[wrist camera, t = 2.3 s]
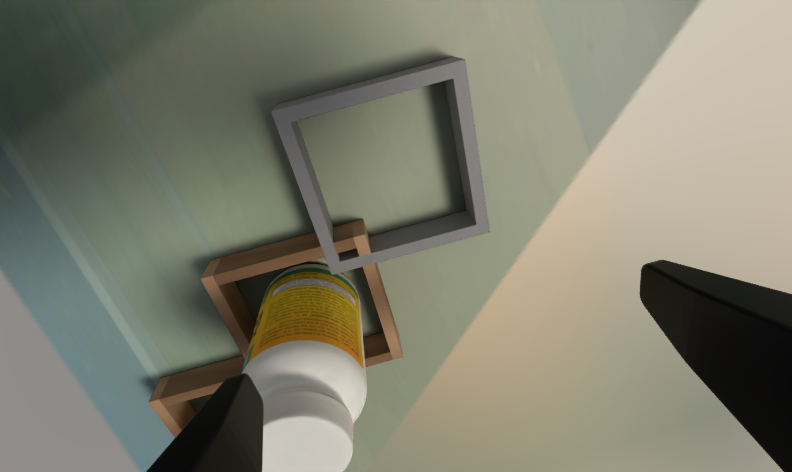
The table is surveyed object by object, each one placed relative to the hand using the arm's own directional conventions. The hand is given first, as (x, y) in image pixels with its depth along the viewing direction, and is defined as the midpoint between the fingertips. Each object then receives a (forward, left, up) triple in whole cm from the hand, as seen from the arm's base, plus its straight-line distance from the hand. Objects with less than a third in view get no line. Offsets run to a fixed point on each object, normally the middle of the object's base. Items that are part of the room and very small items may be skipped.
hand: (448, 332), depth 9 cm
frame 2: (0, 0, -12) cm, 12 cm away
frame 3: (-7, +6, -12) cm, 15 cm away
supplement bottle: (-7, +6, -13) cm, 15 cm away
